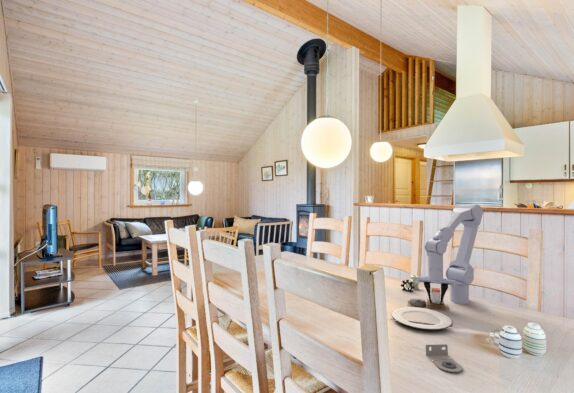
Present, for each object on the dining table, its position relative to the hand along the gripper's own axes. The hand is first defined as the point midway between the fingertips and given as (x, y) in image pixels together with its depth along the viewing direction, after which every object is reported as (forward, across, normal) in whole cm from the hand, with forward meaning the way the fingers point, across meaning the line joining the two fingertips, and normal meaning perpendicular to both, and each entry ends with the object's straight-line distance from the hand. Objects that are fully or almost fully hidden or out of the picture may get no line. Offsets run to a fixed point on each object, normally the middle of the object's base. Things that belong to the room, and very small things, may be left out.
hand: (435, 300), depth 130 cm
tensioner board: (+3, -3, 0) cm, 5 cm away
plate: (+4, -6, -16) cm, 18 cm away
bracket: (+4, 0, -45) cm, 45 cm away
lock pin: (+2, 0, 0) cm, 2 cm away
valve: (+4, -10, +24) cm, 26 cm away
